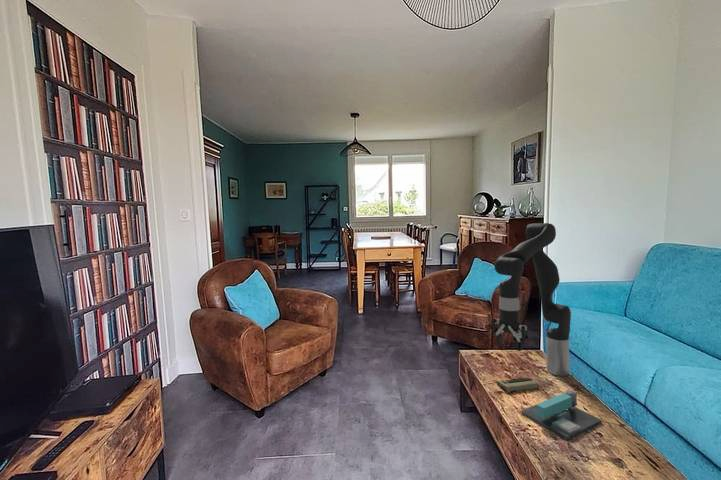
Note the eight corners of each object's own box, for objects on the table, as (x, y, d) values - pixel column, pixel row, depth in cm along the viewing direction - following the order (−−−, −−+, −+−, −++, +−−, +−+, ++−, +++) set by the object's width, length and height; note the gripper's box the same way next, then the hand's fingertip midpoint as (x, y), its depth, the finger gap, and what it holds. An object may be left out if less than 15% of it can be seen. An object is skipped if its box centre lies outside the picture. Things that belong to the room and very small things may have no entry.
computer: (527, 380, 156) (527, 374, 156) (539, 389, 148) (539, 382, 148) (496, 385, 153) (496, 378, 153) (506, 394, 145) (506, 386, 145)
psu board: (554, 399, 139) (554, 393, 139) (601, 423, 123) (601, 416, 123) (521, 413, 130) (521, 407, 130) (567, 440, 114) (567, 433, 114)
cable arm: (569, 400, 133) (569, 389, 133) (578, 404, 130) (578, 393, 130) (535, 414, 125) (535, 403, 124) (544, 419, 121) (544, 407, 121)
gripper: (531, 309, 130) (531, 350, 131) (498, 302, 141) (498, 340, 142) (521, 313, 125) (521, 355, 127) (487, 305, 137) (488, 344, 138)
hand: (509, 347), depth 134 cm, fingers open, 8 cm apart
